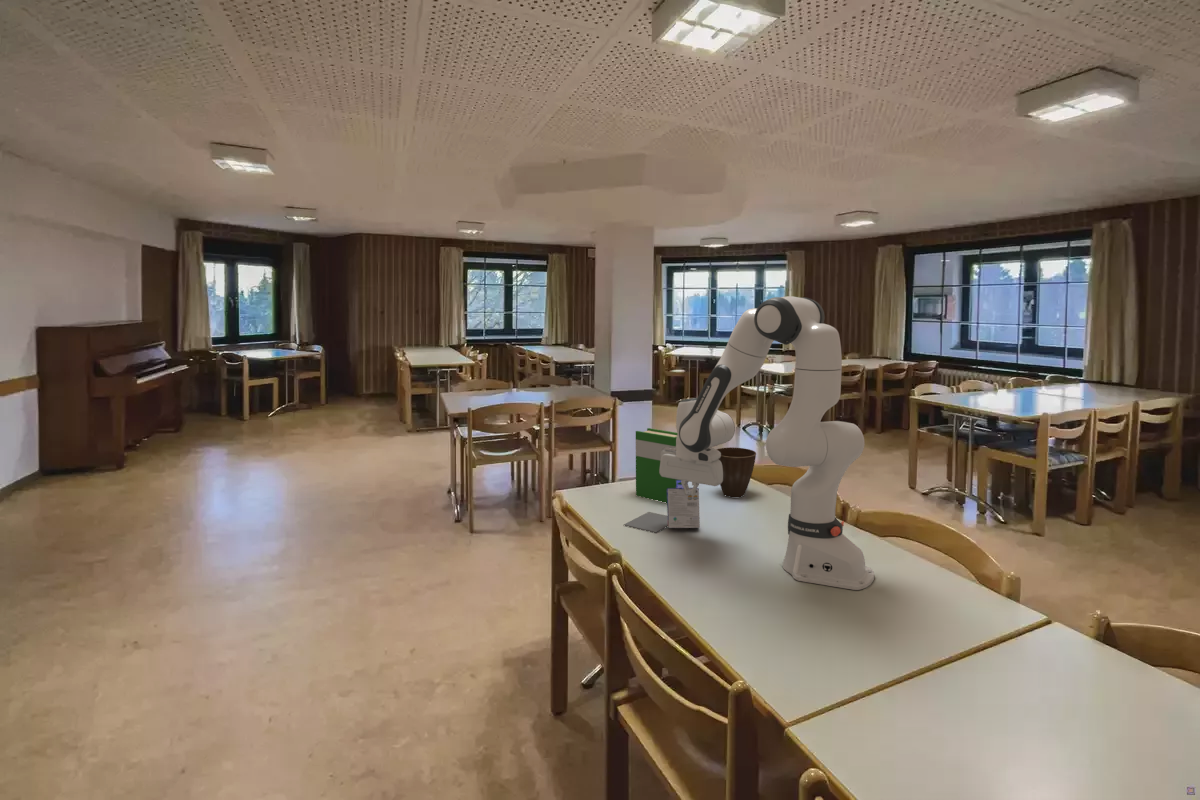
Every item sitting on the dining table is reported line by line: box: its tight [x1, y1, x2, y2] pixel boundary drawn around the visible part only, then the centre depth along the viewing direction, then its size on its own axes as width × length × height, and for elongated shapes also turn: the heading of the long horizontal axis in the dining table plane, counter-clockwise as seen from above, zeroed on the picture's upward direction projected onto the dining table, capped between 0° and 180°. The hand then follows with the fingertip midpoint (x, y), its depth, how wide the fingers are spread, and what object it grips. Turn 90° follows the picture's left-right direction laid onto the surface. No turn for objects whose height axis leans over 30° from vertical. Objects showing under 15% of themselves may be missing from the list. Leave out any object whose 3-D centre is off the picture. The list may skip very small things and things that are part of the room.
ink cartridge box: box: [666, 480, 701, 529], centre depth 199 cm, size 10×6×14 cm, turn 89°
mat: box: [623, 511, 668, 534], centre depth 205 cm, size 12×15×1 cm
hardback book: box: [635, 427, 682, 504], centre depth 229 cm, size 18×7×24 cm, turn 46°
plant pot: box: [716, 446, 757, 498], centre depth 232 cm, size 15×15×16 cm
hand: (690, 495), depth 196 cm, fingers closed
